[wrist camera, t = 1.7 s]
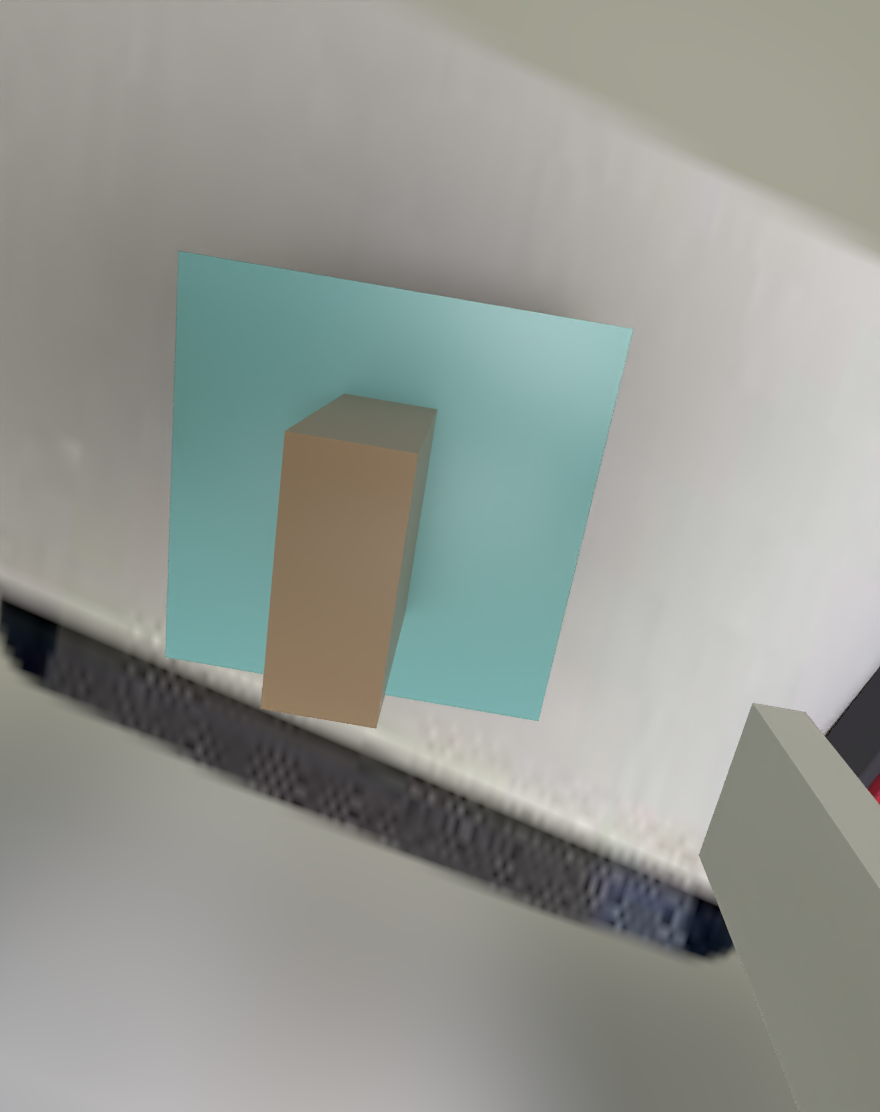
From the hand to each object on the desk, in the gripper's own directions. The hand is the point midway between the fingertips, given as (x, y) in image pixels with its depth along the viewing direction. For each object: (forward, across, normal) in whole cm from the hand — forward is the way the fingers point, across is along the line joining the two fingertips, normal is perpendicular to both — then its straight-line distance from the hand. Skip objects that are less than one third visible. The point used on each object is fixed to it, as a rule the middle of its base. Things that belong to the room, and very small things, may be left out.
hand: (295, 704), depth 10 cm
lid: (+12, 0, 0) cm, 12 cm away
